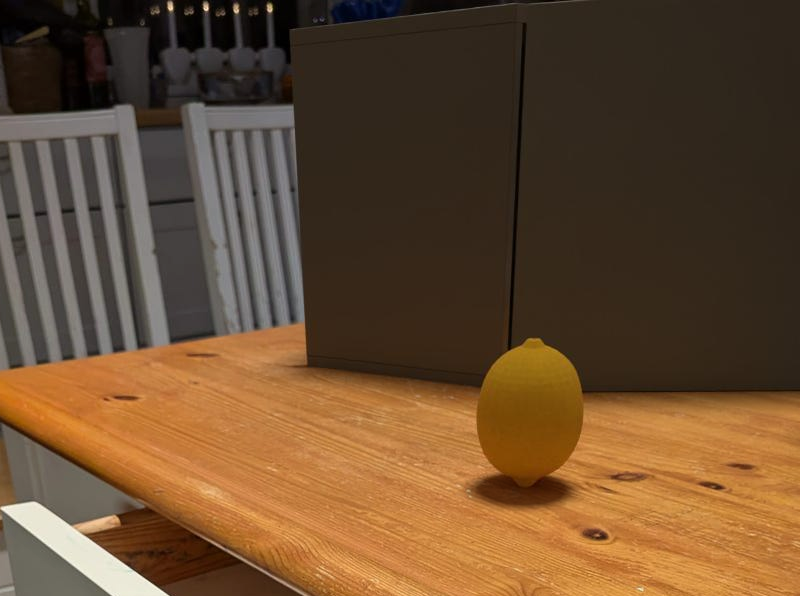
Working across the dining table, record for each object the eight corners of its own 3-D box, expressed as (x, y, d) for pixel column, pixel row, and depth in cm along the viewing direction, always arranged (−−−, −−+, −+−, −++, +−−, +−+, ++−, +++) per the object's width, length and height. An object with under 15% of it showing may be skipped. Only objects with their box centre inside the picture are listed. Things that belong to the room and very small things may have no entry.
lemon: (466, 501, 51) (471, 348, 47) (482, 468, 56) (487, 326, 52) (573, 508, 50) (586, 350, 46) (580, 473, 54) (593, 327, 50)
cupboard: (631, 326, 88) (664, 18, 77) (499, 391, 71) (516, 2, 59) (460, 313, 98) (467, 38, 87) (306, 367, 80) (289, 29, 69)
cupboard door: (936, 418, 59) (1060, -47, 48) (510, 419, 64) (531, -9, 52) (890, 386, 66) (989, -28, 55) (508, 388, 71) (527, 5, 59)
